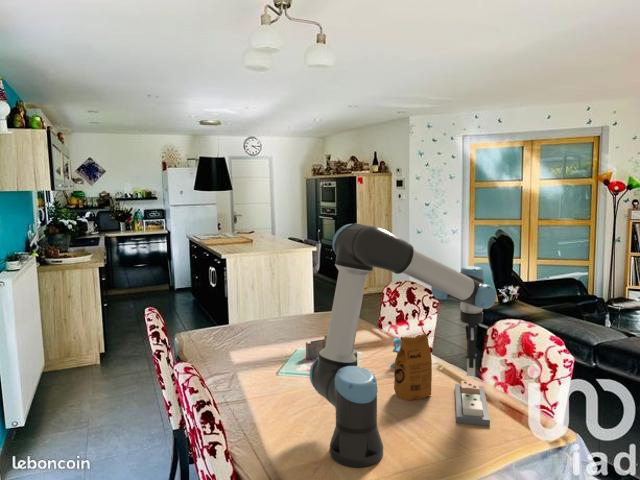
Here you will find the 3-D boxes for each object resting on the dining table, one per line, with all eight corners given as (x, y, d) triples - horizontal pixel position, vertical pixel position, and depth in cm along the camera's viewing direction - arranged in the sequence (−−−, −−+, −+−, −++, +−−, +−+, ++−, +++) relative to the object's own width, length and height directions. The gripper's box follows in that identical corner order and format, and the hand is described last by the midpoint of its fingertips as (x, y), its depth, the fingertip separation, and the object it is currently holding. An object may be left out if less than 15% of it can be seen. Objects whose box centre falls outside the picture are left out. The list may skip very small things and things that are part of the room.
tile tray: (489, 426, 151) (489, 420, 150) (456, 422, 153) (456, 416, 153) (483, 391, 176) (483, 386, 175) (455, 389, 178) (455, 383, 178)
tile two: (480, 409, 161) (481, 401, 160) (462, 407, 162) (462, 400, 162) (479, 401, 166) (479, 394, 166) (461, 400, 168) (461, 392, 168)
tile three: (479, 395, 168) (479, 388, 168) (461, 394, 170) (461, 386, 169) (478, 388, 174) (478, 381, 174) (460, 387, 176) (461, 380, 175)
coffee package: (390, 391, 177) (390, 333, 174) (420, 386, 181) (420, 329, 178) (404, 403, 167) (404, 341, 165) (434, 397, 172) (435, 337, 169)
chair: (413, 363, 205) (414, 335, 204) (408, 369, 197) (409, 341, 196) (396, 360, 208) (396, 333, 207) (390, 367, 200) (390, 339, 199)
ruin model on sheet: (328, 354, 218) (328, 333, 217) (331, 356, 215) (331, 335, 214) (305, 358, 213) (305, 337, 212) (308, 360, 210) (308, 339, 209)
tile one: (482, 417, 153) (482, 409, 153) (463, 415, 154) (463, 407, 154) (481, 408, 159) (481, 401, 158) (462, 407, 160) (462, 399, 160)
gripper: (484, 316, 161) (483, 383, 164) (481, 306, 174) (480, 369, 177) (461, 315, 163) (460, 381, 166) (459, 305, 176) (459, 367, 179)
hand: (470, 375), depth 171 cm, fingers closed
